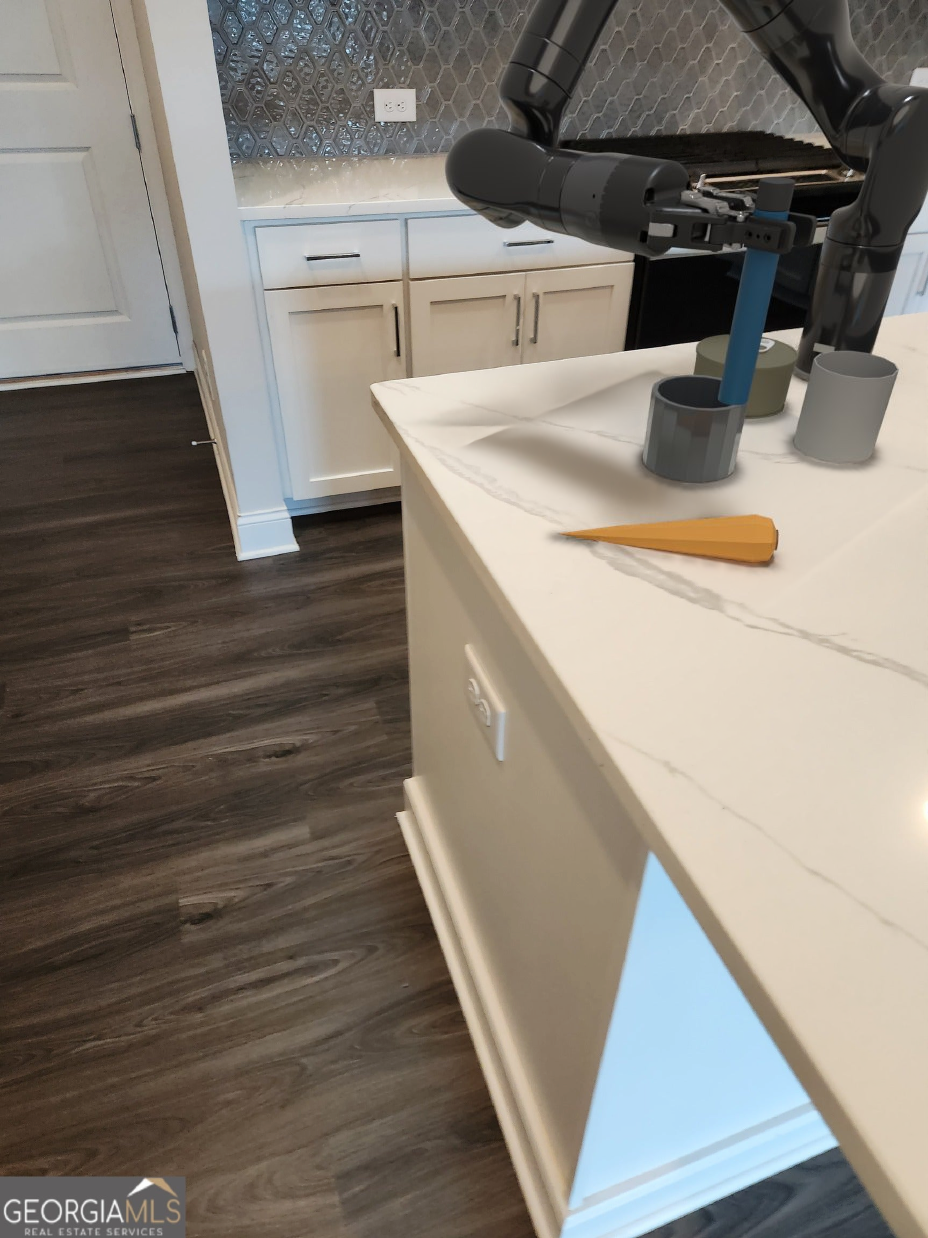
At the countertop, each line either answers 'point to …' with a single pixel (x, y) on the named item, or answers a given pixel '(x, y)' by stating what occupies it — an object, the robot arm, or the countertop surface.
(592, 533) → the carrot
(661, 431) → the pen pot
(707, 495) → the countertop surface
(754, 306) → the marker
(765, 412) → the can
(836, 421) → the cup
